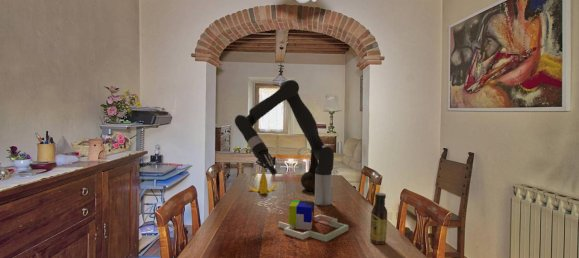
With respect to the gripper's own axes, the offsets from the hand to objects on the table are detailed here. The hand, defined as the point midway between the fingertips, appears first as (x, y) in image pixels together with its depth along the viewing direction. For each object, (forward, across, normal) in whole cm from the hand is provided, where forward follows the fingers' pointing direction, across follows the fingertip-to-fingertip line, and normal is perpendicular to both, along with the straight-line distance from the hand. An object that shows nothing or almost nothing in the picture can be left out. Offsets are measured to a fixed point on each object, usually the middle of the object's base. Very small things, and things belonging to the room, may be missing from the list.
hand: (274, 173), depth 157 cm
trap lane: (+31, 0, -1) cm, 31 cm away
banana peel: (-12, +36, +43) cm, 57 cm away
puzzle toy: (+27, 0, +3) cm, 27 cm away
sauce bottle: (+52, +5, -22) cm, 56 cm away
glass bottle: (+2, +62, +28) cm, 68 cm away
